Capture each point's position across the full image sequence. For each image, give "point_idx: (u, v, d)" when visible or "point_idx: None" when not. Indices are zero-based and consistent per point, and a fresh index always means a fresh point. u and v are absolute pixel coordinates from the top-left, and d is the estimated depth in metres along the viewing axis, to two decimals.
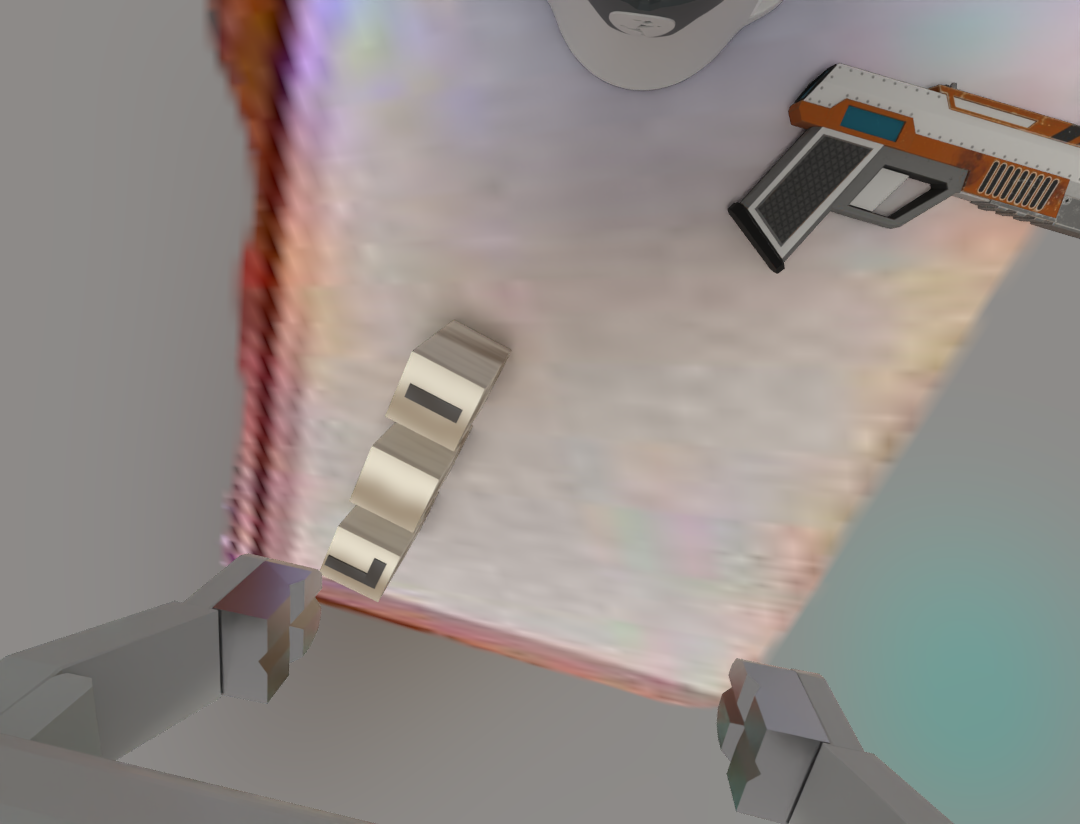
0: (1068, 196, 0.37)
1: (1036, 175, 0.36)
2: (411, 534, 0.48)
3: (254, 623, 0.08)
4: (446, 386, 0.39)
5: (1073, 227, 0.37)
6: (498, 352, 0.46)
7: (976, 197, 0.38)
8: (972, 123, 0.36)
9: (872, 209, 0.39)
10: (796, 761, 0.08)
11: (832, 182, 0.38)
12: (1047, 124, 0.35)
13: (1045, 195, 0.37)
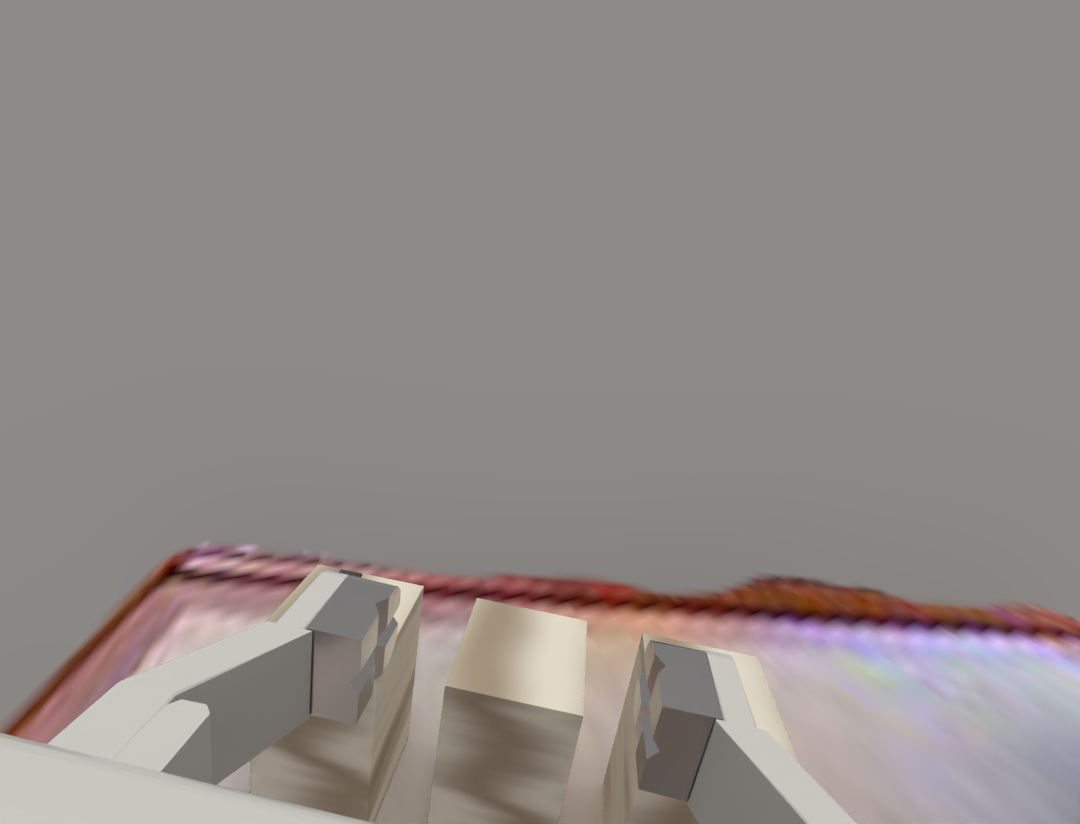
0: None
1: None
2: (375, 722, 0.24)
3: (347, 644, 0.08)
4: (749, 704, 0.24)
5: None
6: None
7: None
8: None
9: None
10: (692, 738, 0.08)
11: None
12: None
13: None
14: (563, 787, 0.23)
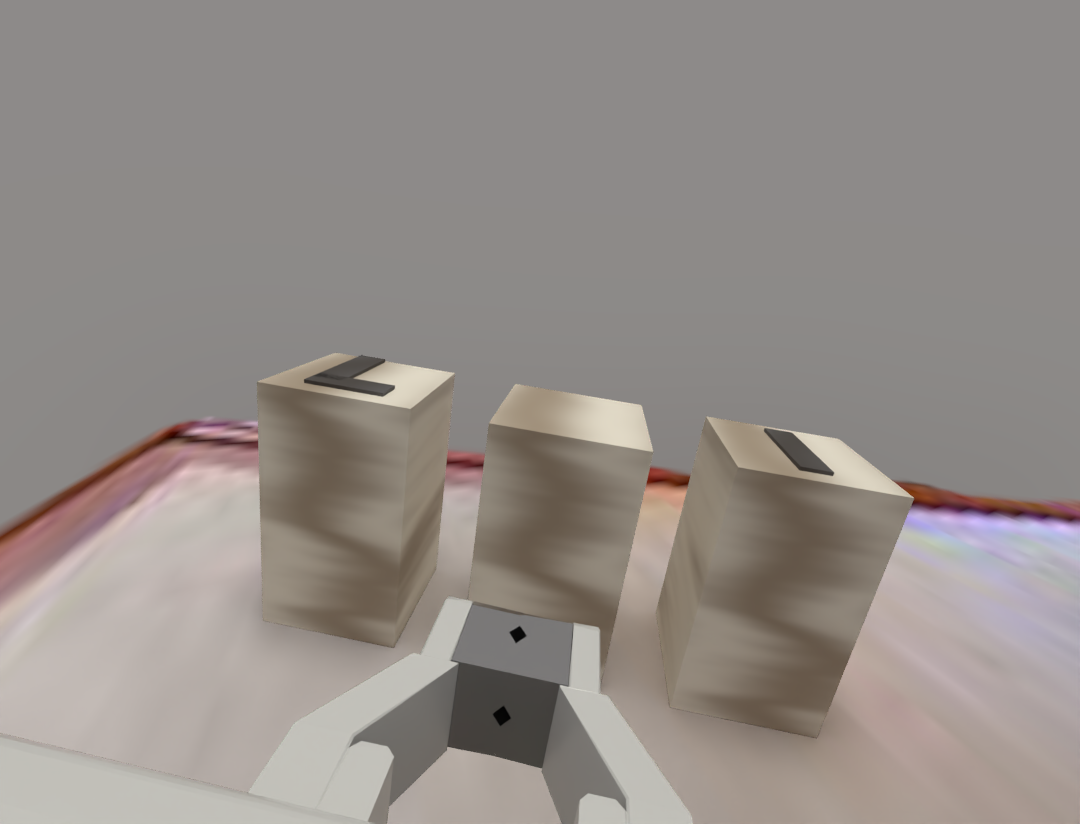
0: None
1: None
2: (407, 484, 0.20)
3: (494, 676, 0.08)
4: (841, 462, 0.20)
5: None
6: None
7: None
8: None
9: None
10: (540, 704, 0.08)
11: None
12: None
13: None
14: (627, 552, 0.20)
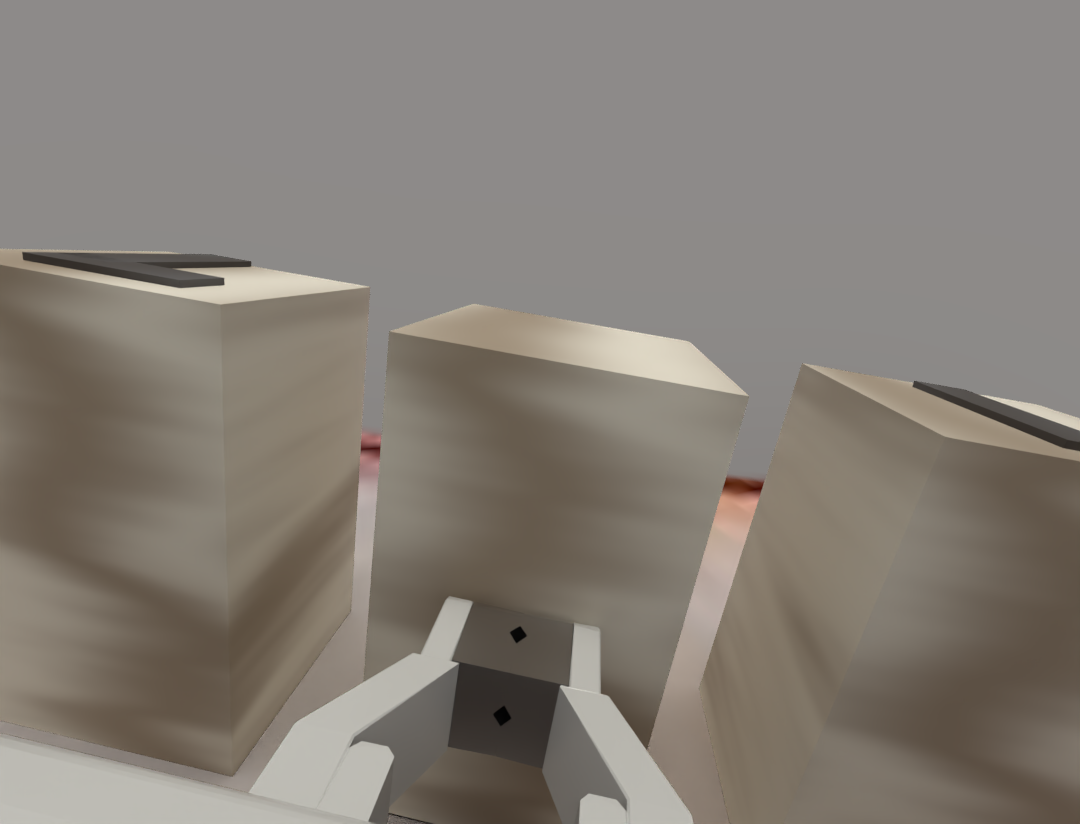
0: None
1: None
2: (231, 469, 0.10)
3: (494, 676, 0.08)
4: None
5: None
6: None
7: None
8: None
9: None
10: (541, 704, 0.08)
11: None
12: None
13: None
14: (679, 612, 0.10)
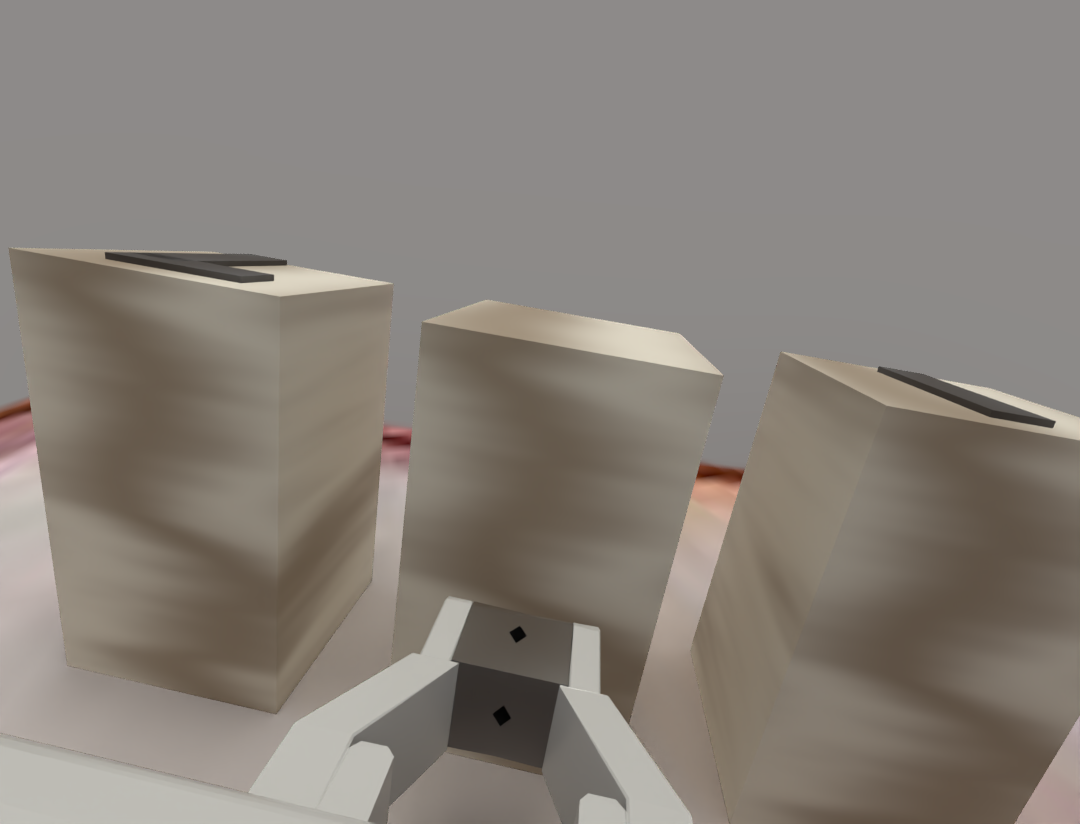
0: None
1: None
2: (283, 439, 0.12)
3: (494, 676, 0.08)
4: (1035, 412, 0.12)
5: None
6: None
7: None
8: None
9: None
10: (540, 704, 0.08)
11: None
12: None
13: None
14: (666, 561, 0.11)
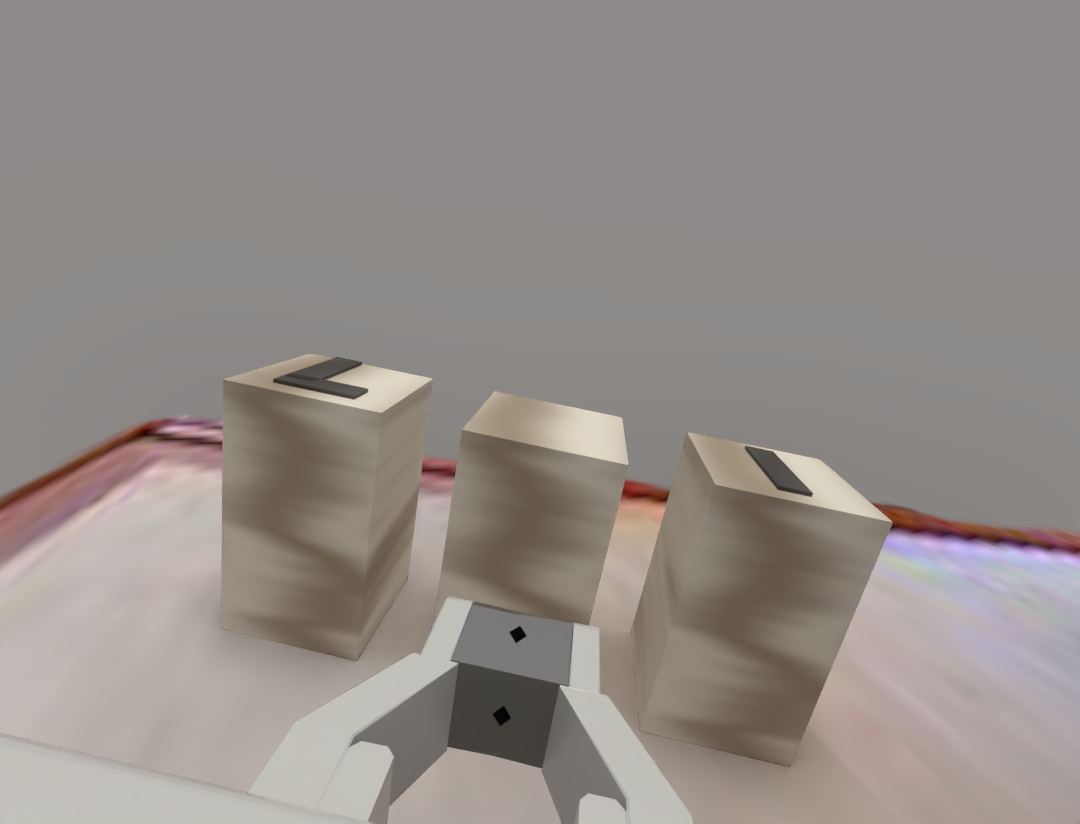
0: None
1: None
2: (375, 490, 0.20)
3: (494, 676, 0.08)
4: (821, 482, 0.20)
5: None
6: None
7: None
8: None
9: None
10: (540, 704, 0.08)
11: None
12: None
13: None
14: (599, 567, 0.19)
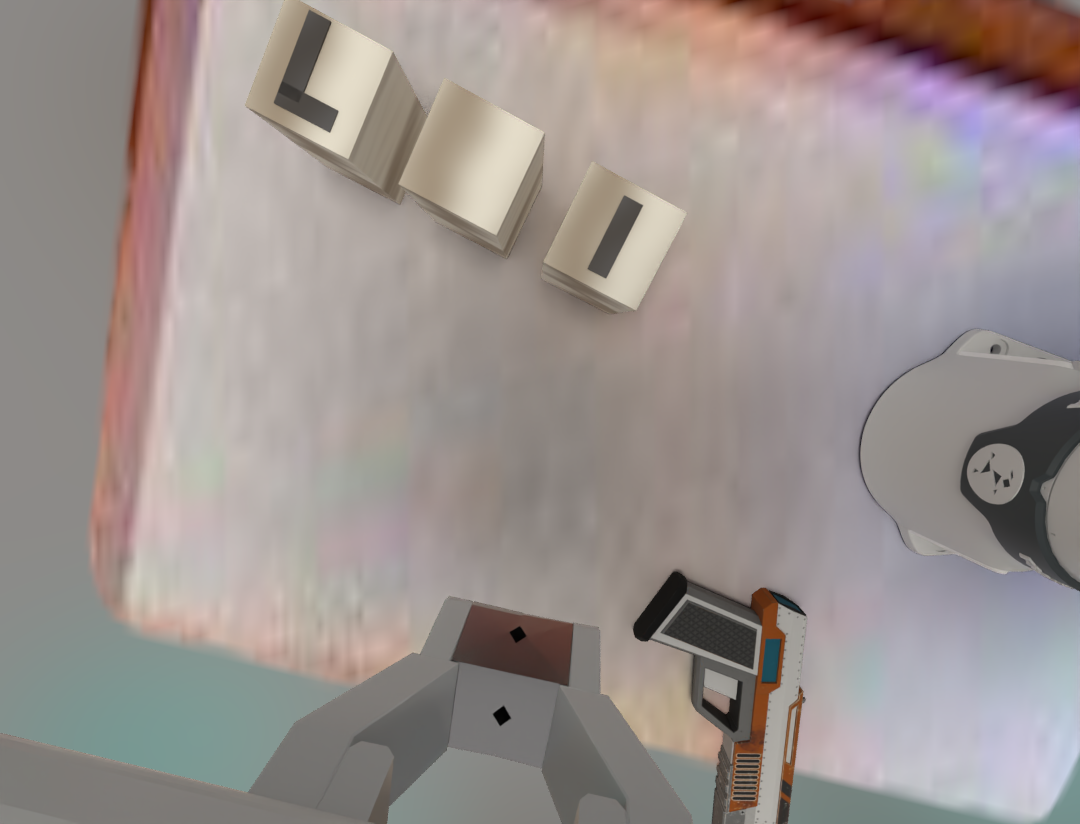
0: (745, 811, 0.46)
1: (755, 784, 0.45)
2: (368, 172, 0.31)
3: (494, 676, 0.08)
4: (638, 257, 0.29)
5: None
6: None
7: (731, 754, 0.45)
8: (782, 726, 0.45)
9: (705, 685, 0.45)
10: (540, 704, 0.08)
11: (722, 652, 0.43)
12: (789, 772, 0.45)
13: (743, 797, 0.46)
14: (499, 245, 0.33)
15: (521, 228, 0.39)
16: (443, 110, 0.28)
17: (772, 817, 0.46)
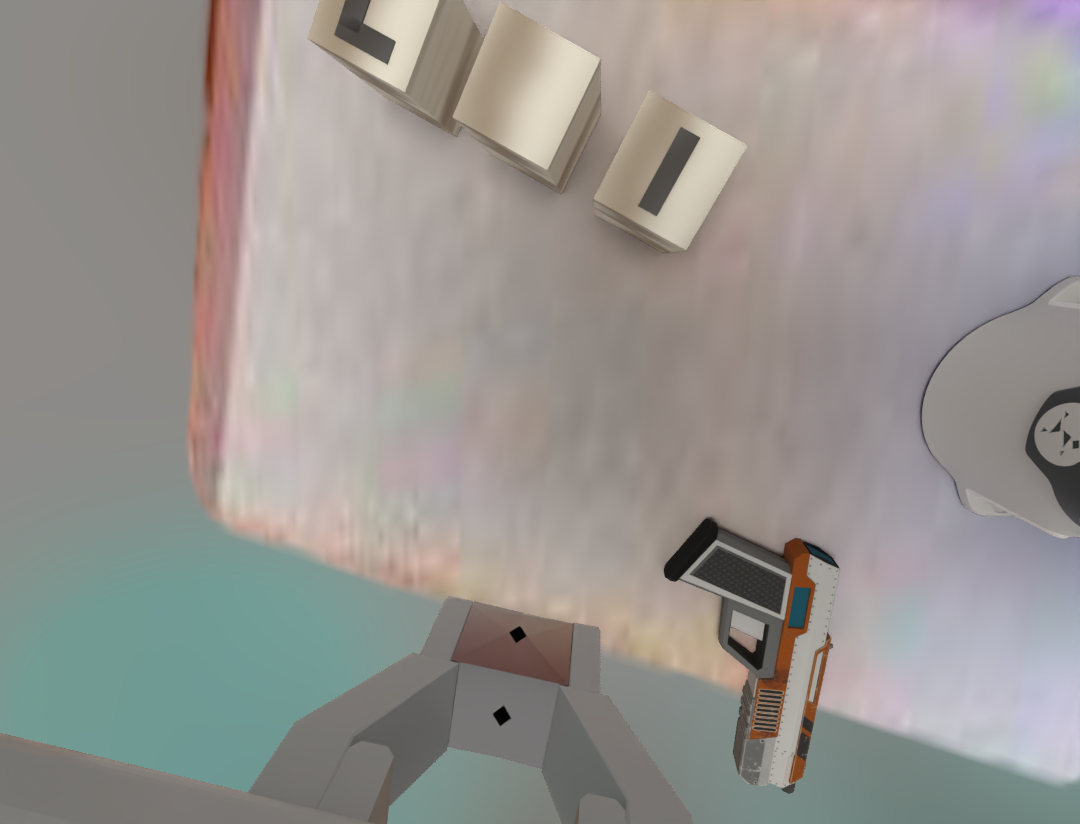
0: (765, 740, 0.49)
1: (777, 718, 0.48)
2: (424, 105, 0.32)
3: (494, 675, 0.08)
4: (691, 194, 0.28)
5: (744, 751, 0.49)
6: None
7: (754, 689, 0.48)
8: (807, 668, 0.46)
9: (732, 625, 0.47)
10: (540, 704, 0.08)
11: (749, 596, 0.44)
12: (812, 710, 0.47)
13: (764, 728, 0.48)
14: (552, 180, 0.33)
15: (577, 161, 0.39)
16: (498, 37, 0.27)
17: (792, 748, 0.49)
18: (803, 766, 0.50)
